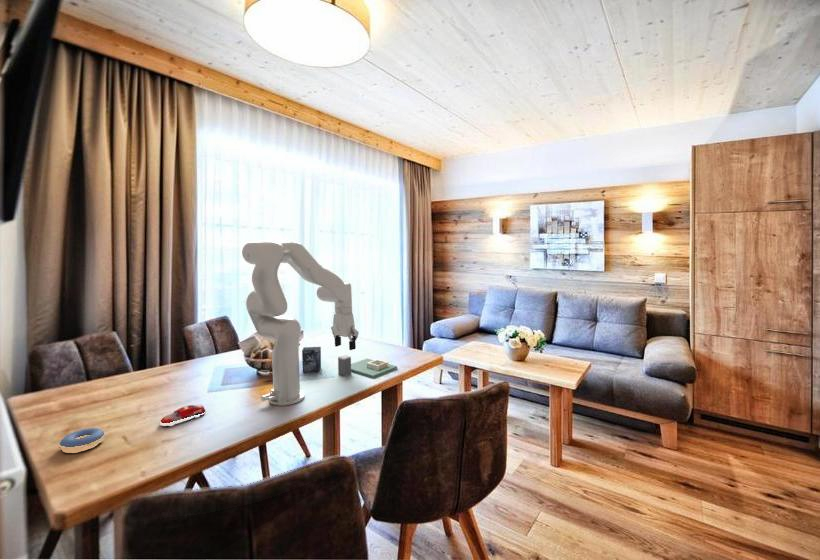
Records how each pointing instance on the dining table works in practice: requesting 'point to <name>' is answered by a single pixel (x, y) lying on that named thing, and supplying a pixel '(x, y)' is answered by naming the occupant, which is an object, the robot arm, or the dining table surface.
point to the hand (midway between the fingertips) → (345, 347)
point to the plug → (344, 365)
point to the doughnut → (72, 442)
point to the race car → (183, 413)
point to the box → (311, 359)
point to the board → (372, 367)
